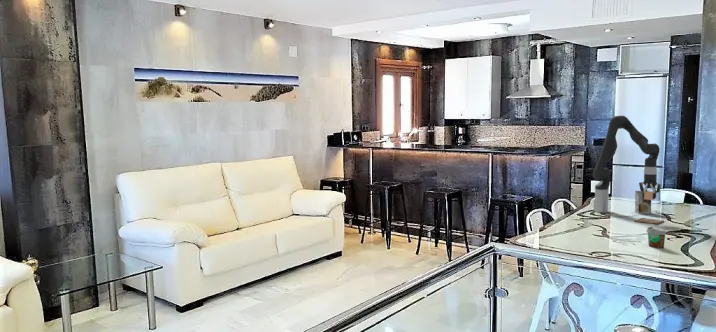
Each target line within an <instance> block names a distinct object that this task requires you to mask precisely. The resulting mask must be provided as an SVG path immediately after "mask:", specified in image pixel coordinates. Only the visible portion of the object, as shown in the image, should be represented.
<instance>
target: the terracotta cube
mask: <svg viewBox="0 0 716 332" xmlns="http://www.w3.org/2000/svg"><path fill="white" fill-rule="evenodd" d="M644 199H647V200H651V201H653V200H655V199H653V190H647V191H646V192H644Z"/></svg>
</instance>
